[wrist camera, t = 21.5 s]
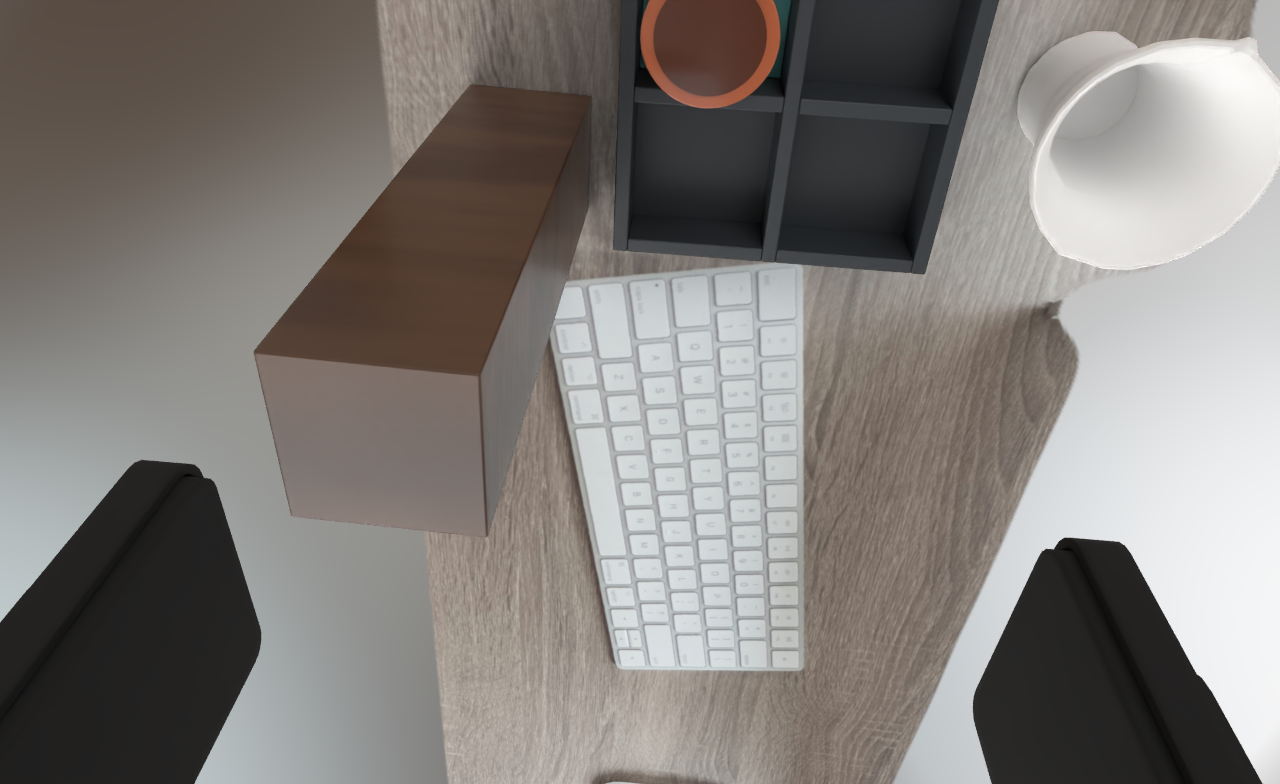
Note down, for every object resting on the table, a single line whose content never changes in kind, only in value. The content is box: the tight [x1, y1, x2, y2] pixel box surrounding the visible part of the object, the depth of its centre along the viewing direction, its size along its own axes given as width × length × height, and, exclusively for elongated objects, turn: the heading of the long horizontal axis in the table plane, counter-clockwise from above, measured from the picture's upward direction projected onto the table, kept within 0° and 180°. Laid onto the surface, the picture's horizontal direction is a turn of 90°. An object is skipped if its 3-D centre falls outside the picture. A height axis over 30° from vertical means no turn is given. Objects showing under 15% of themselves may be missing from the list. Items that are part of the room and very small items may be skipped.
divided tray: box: [613, 0, 999, 274], centre depth 39 cm, size 15×15×4 cm
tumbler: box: [640, 0, 781, 109], centre depth 35 cm, size 5×5×8 cm
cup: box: [1017, 31, 1280, 270], centre depth 36 cm, size 9×9×10 cm
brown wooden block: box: [254, 85, 592, 537], centre depth 34 cm, size 6×6×24 cm
